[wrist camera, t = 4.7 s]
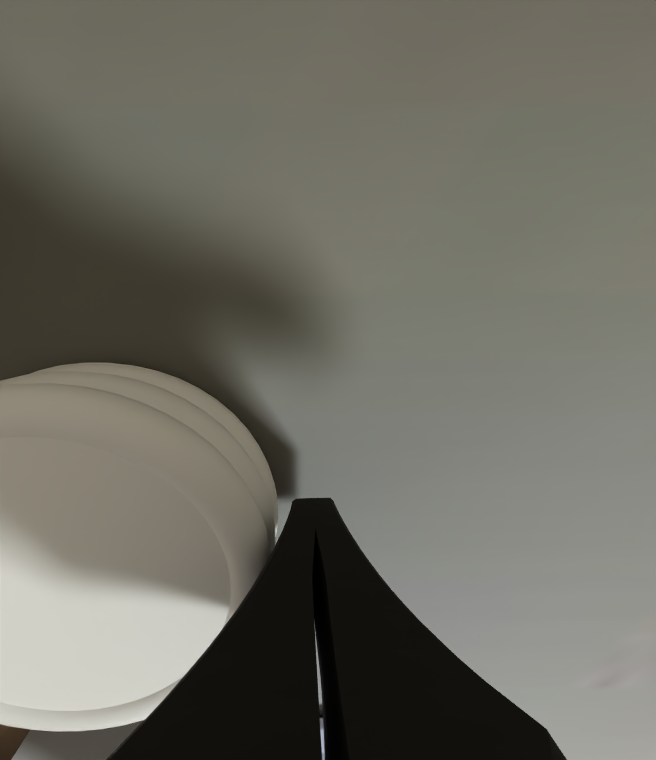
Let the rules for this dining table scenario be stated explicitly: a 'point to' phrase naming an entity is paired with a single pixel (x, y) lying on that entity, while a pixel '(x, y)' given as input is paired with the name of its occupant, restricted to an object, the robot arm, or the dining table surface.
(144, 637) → the white round dish
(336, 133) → the dining table surface
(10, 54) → the dining table surface
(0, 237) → the dining table surface
